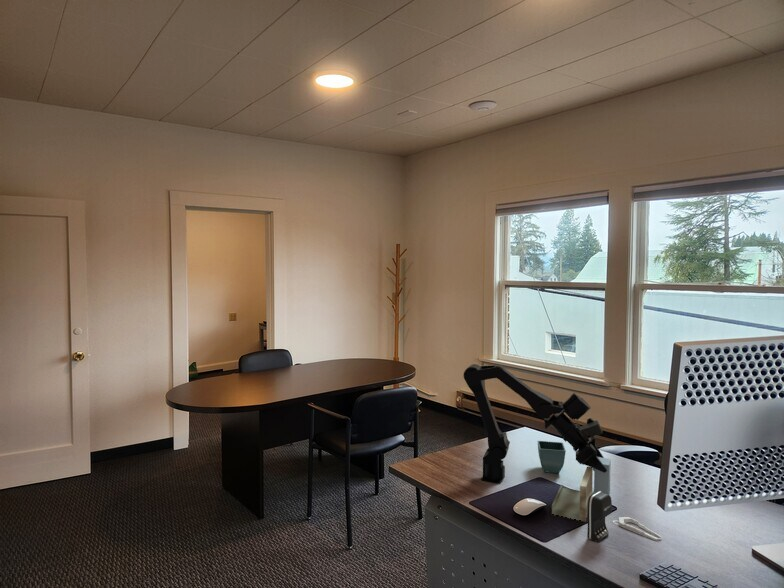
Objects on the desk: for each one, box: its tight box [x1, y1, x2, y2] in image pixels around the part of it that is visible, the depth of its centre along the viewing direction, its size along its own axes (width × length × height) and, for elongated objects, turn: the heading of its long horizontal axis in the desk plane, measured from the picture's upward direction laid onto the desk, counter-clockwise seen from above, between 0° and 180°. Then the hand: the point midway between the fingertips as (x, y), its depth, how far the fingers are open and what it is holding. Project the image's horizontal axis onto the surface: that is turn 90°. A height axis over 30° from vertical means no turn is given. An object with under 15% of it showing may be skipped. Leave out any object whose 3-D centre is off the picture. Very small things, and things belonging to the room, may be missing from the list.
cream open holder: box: [551, 466, 594, 523], centre depth 149 cm, size 9×16×10 cm, turn 152°
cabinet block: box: [593, 457, 612, 495], centre depth 159 cm, size 5×6×10 cm
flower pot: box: [537, 440, 567, 474], centre depth 178 cm, size 9×9×9 cm
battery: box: [587, 491, 613, 542], centre depth 132 cm, size 7×4×11 cm, turn 131°
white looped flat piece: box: [612, 516, 662, 542], centre depth 137 cm, size 13×5×2 cm, turn 38°
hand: (605, 466), depth 158 cm, fingers open, 9 cm apart
